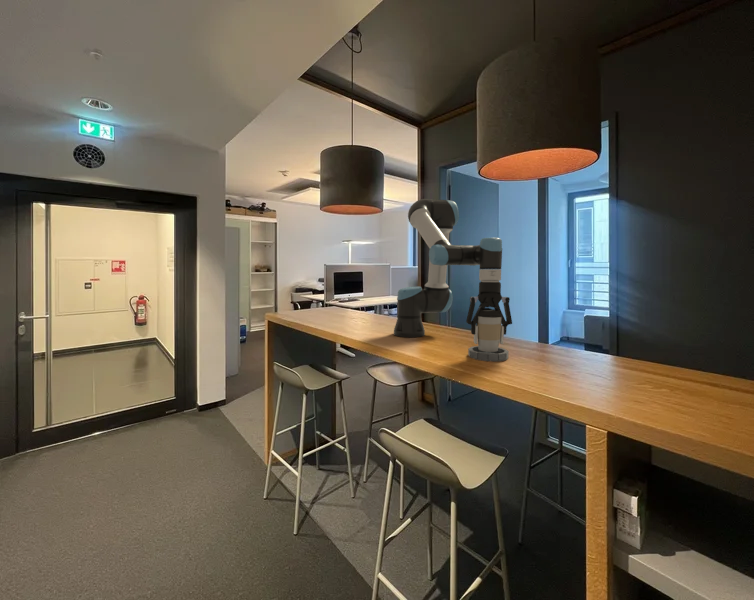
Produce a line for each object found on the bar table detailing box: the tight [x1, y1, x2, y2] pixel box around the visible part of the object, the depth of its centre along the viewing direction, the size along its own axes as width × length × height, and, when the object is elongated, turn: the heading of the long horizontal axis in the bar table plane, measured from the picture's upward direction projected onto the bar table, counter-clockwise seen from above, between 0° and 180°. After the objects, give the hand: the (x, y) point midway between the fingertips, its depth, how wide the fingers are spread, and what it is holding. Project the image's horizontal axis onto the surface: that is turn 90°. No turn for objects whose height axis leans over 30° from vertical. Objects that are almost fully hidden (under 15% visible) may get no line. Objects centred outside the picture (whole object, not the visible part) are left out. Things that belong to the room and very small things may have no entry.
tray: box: [467, 345, 509, 362], centre depth 128 cm, size 14×14×2 cm
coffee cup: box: [476, 307, 503, 352], centre depth 127 cm, size 9×9×15 cm
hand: (488, 343), depth 127 cm, fingers closed on coffee cup, 8 cm apart
